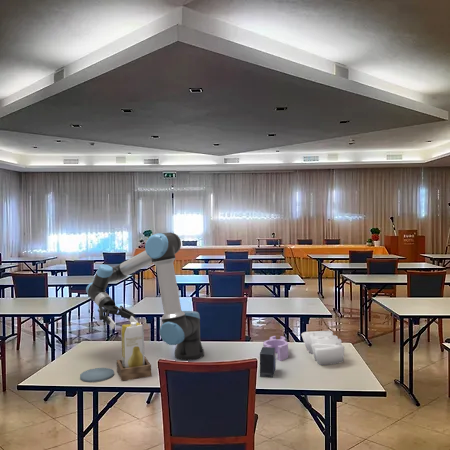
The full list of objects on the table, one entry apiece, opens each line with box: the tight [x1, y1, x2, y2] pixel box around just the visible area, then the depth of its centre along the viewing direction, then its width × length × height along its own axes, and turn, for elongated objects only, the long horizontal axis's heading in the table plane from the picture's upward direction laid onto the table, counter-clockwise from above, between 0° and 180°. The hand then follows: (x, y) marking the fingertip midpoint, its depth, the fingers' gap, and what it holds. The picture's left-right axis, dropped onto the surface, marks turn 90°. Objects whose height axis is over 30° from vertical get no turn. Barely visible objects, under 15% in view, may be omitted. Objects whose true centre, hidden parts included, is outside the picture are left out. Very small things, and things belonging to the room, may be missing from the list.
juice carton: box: [121, 321, 145, 368], centre depth 206 cm, size 9×8×24 cm
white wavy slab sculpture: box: [301, 330, 345, 366], centre depth 224 cm, size 35×16×10 cm, turn 0°
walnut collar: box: [116, 355, 152, 382], centre depth 206 cm, size 13×14×5 cm
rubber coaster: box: [79, 367, 115, 383], centre depth 204 cm, size 15×15×1 cm
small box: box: [259, 346, 277, 378], centre depth 202 cm, size 11×6×10 cm, turn 168°
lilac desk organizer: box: [262, 335, 289, 362], centre depth 228 cm, size 20×12×7 cm, turn 167°
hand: (126, 326), depth 214 cm, fingers open, 13 cm apart
